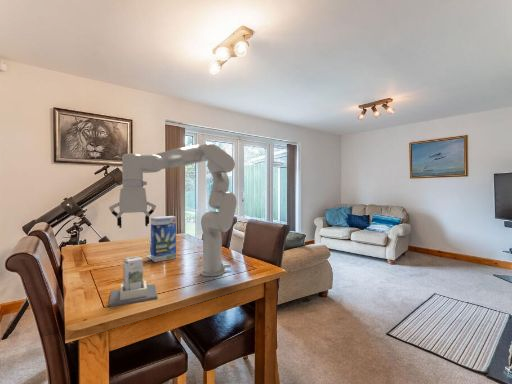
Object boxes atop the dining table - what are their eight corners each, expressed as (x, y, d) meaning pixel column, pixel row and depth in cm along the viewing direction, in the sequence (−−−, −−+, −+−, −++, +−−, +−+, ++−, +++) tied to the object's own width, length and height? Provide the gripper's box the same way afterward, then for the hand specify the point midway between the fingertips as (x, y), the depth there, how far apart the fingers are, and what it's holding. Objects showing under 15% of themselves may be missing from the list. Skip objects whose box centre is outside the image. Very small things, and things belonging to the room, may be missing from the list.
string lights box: (154, 262, 154) (154, 218, 154) (150, 259, 160) (149, 217, 159) (176, 258, 163) (176, 216, 162) (171, 255, 169) (171, 215, 168)
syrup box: (137, 289, 112) (137, 255, 112) (143, 293, 108) (142, 258, 108) (123, 293, 108) (122, 257, 108) (128, 297, 104) (128, 261, 104)
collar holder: (154, 286, 118) (154, 277, 118) (157, 298, 106) (157, 288, 106) (111, 292, 111) (111, 283, 111) (108, 307, 98) (108, 296, 98)
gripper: (154, 184, 114) (155, 223, 115) (109, 184, 107) (110, 226, 108) (156, 184, 108) (157, 226, 108) (107, 184, 100) (108, 229, 101)
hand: (133, 226), depth 108 cm, fingers open, 9 cm apart
